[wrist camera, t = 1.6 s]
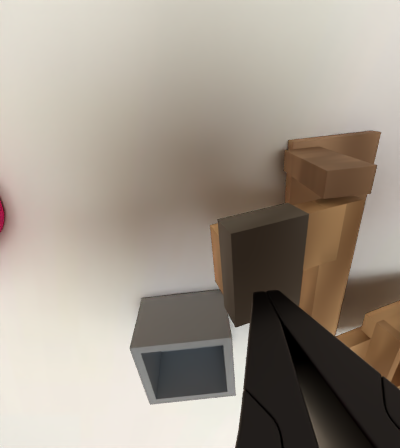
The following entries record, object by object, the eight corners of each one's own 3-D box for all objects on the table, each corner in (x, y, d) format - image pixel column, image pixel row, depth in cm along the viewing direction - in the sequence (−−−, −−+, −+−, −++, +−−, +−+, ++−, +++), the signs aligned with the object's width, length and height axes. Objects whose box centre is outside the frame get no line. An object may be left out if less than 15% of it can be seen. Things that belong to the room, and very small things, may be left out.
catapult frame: (371, 130, 14) (469, 144, 9) (329, 333, 22) (369, 399, 18) (280, 141, 14) (328, 161, 9) (271, 339, 23) (294, 407, 18)
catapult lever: (488, 147, 13) (564, 154, 11) (405, 341, 21) (440, 369, 18) (208, 209, 10) (236, 239, 7) (228, 418, 17) (245, 465, 15)
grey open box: (223, 289, 19) (231, 337, 15) (227, 343, 23) (235, 395, 19) (141, 298, 20) (129, 348, 16) (156, 351, 23) (150, 404, 19)
